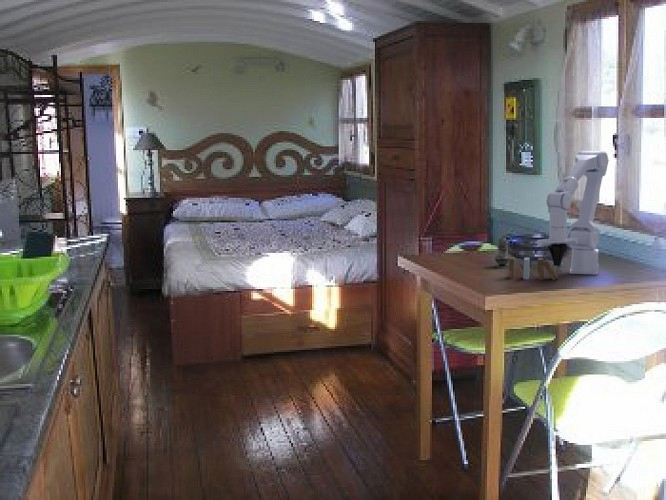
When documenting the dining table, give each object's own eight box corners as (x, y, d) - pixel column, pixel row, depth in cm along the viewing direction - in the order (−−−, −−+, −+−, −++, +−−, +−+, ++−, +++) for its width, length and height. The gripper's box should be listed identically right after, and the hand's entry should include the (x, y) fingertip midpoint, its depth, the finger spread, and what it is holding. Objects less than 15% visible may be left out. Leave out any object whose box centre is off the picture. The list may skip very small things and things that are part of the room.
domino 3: (544, 277, 271) (543, 257, 270) (543, 279, 267) (542, 260, 266) (539, 277, 272) (538, 258, 271) (538, 279, 268) (537, 260, 267)
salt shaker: (510, 268, 290) (511, 236, 288) (494, 268, 291) (495, 236, 289) (509, 265, 296) (509, 234, 294) (493, 265, 297) (494, 234, 295)
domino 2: (529, 277, 273) (529, 257, 272) (528, 279, 269) (528, 259, 268) (524, 276, 274) (525, 257, 273) (523, 279, 270) (523, 259, 268)
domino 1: (515, 276, 275) (515, 257, 274) (513, 278, 271) (514, 259, 270) (510, 276, 275) (510, 256, 274) (509, 278, 271) (509, 259, 270)
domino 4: (558, 275, 270) (547, 258, 270) (557, 278, 266) (546, 260, 266) (554, 278, 270) (543, 261, 271) (553, 280, 266) (542, 263, 266)
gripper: (570, 224, 270) (569, 262, 273) (533, 226, 267) (532, 264, 269) (581, 226, 264) (580, 265, 266) (543, 228, 260) (542, 268, 263)
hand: (556, 265), depth 267 cm, fingers closed
